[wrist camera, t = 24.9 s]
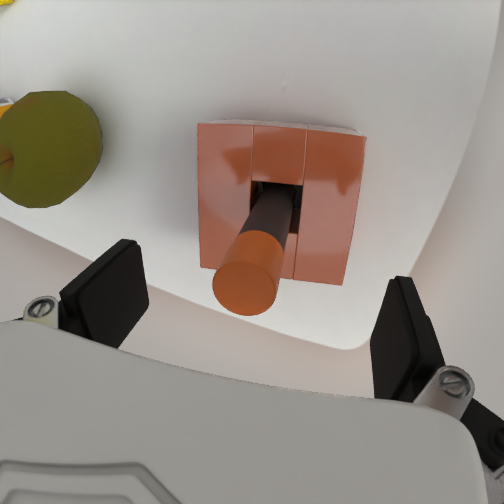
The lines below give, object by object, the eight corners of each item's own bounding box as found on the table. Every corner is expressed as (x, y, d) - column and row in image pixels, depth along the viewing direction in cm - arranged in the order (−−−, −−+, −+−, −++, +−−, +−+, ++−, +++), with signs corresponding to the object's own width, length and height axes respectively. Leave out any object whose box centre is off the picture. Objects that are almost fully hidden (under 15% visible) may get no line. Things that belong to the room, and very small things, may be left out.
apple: (141, 143, 24) (51, 177, 15) (82, 204, 28) (5, 253, 19) (85, 66, 22) (-9, 70, 12) (36, 134, 26) (-45, 161, 16)
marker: (298, 176, 23) (279, 266, 11) (295, 206, 25) (273, 320, 12) (265, 172, 24) (210, 257, 12) (264, 203, 25) (212, 311, 13)
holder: (355, 130, 21) (366, 136, 17) (338, 253, 26) (342, 285, 21) (220, 118, 22) (197, 123, 18) (219, 239, 27) (200, 267, 23)
